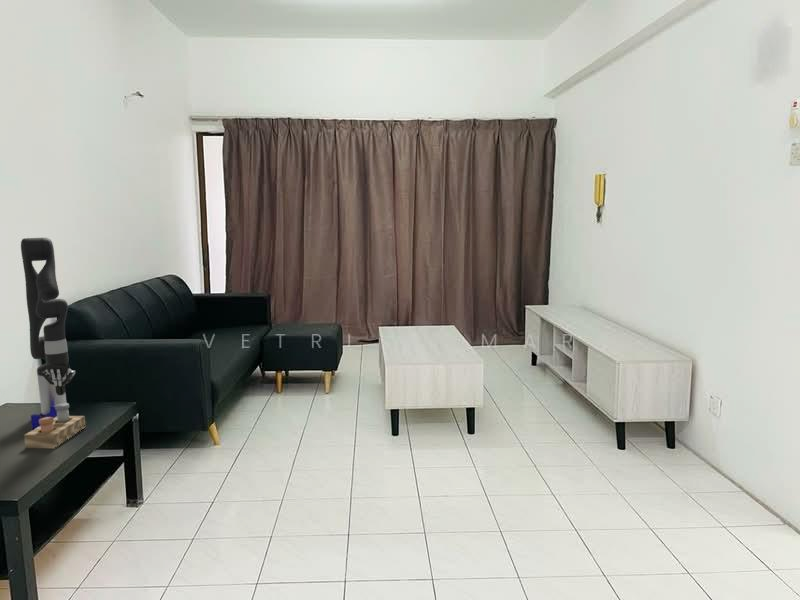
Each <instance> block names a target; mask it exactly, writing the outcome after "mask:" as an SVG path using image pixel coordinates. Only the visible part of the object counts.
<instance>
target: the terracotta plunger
mask: <svg viewBox="0 0 800 600" xmlns="http://www.w3.org/2000/svg"><path fill="white" fill-rule="evenodd" d="M44 417H45V416H44ZM44 417H41V419H39V424H40V425H41V433H50V432H52V431H53V430H54V428H53V422H54V418H53V417H45V418H44Z"/></svg>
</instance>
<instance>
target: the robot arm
mask: <svg viewBox="0 0 800 600" xmlns="http://www.w3.org/2000/svg"><path fill="white" fill-rule="evenodd" d="M54 249H55V248H54V243H53V241H52V240H51V238H49V237H27V238H22V239H21V241H20V251H21V260H22V266H23V270H24V279H25V293H26V294H25V296H26V306H27V313H28V322H29V349H30V355H31V357H32V358H33V359H34V360H42V359H45V363H44V364H41V365H40V366H38V367H37V368H36V373H37V375H36V376H37V383H38V385H37V386H38V392H39V402H40V411H41V415H43V416H45V415H46V414H48V413H50V407H51V406H55V405H57V404H61V403H68V402H67V394H66V392H67V391H66V384H69V383H70V382H71V381H72V379H73V377H74V376H75V375H76V373H77V370H72V369H71V367H70V366H71V365H70V364H69V350H68V343H67V339H66V319H67V316H68V311H69V304H68V302H67V300H66V299H64V298H58V297H59V296H60V290H59V285H58V281H57V276H56V274H57V273H56V259H55V250H54ZM39 261H41V262H42V261H45V263H44V265H43V266H42V268H41V269H40V271H39V273H38V272H37V270H36V268H35V267H34V265H33V262H39ZM55 318H56V321H55V322H51V323H48V324H45V325H44V323H45V322H46V320H47V319H55ZM43 325H44V326H43ZM42 327H43V336H40V333H41V330H42Z"/></svg>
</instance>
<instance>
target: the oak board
mask: <svg viewBox="0 0 800 600" xmlns="http://www.w3.org/2000/svg"><path fill="white" fill-rule="evenodd" d="M85 416H86V415H69V420H70V421H68V422H67V423H58V420H57V416H56V417H55V418H54V422H53V428H54V430H53V431H52V432H50V433H41V426H39V427H37V428H36V429H34V430H32V429H31V430H30V431H28V432H27V433H24V434H23V436H24V437H23V439H24V445H25V449H56V448H58V447H59V446H60V444H61V443H62V444H64V443H65V442H67V441H68V440H69V438H70V437H71V438H73V437H74V436H75V435H74V434H76V433H77V432H79V431H80V432H82V431H83V430H82V429H84V428H85V427H86V426H87V425H86V417H85ZM85 429H86V428H85ZM85 429H84V430H85ZM81 430H82V431H81ZM80 432H79V433H80ZM77 434H78V433H77ZM77 434H76V435H77ZM73 435H74V436H73ZM72 436H73V437H72ZM71 438H70V439H71ZM67 439H68V440H67ZM66 440H67V441H66ZM64 441H65V442H64ZM63 442H64V443H63ZM62 444H61V445H62ZM58 445H59V446H58ZM57 446H58V447H57ZM55 447H56V448H55Z"/></svg>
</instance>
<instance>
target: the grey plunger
mask: <svg viewBox="0 0 800 600" xmlns="http://www.w3.org/2000/svg"><path fill="white" fill-rule="evenodd" d="M69 409H70V403H68V402H67V403H61V404H57V405H55V410H57V420H58V423H67V422H68V421H70V420H69V416H70V411H69Z"/></svg>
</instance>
